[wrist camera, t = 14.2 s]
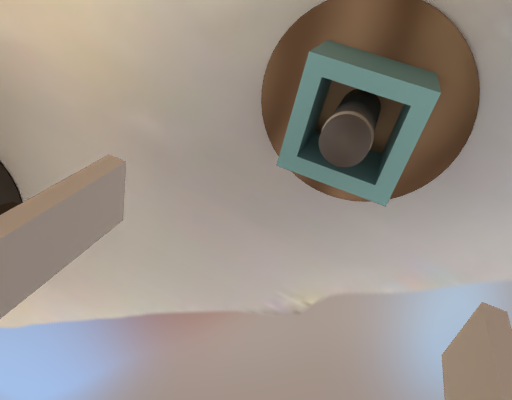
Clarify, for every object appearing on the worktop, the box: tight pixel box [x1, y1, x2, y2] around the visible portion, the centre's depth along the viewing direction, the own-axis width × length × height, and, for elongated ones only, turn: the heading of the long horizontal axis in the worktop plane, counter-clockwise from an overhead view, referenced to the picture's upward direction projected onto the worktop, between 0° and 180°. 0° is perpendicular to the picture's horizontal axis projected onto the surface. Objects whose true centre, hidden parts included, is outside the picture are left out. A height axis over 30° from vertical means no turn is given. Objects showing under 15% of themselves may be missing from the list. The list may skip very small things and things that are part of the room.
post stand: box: [261, 0, 479, 201], centre depth 27 cm, size 16×16×9 cm
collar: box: [276, 40, 441, 206], centre depth 28 cm, size 8×8×6 cm
